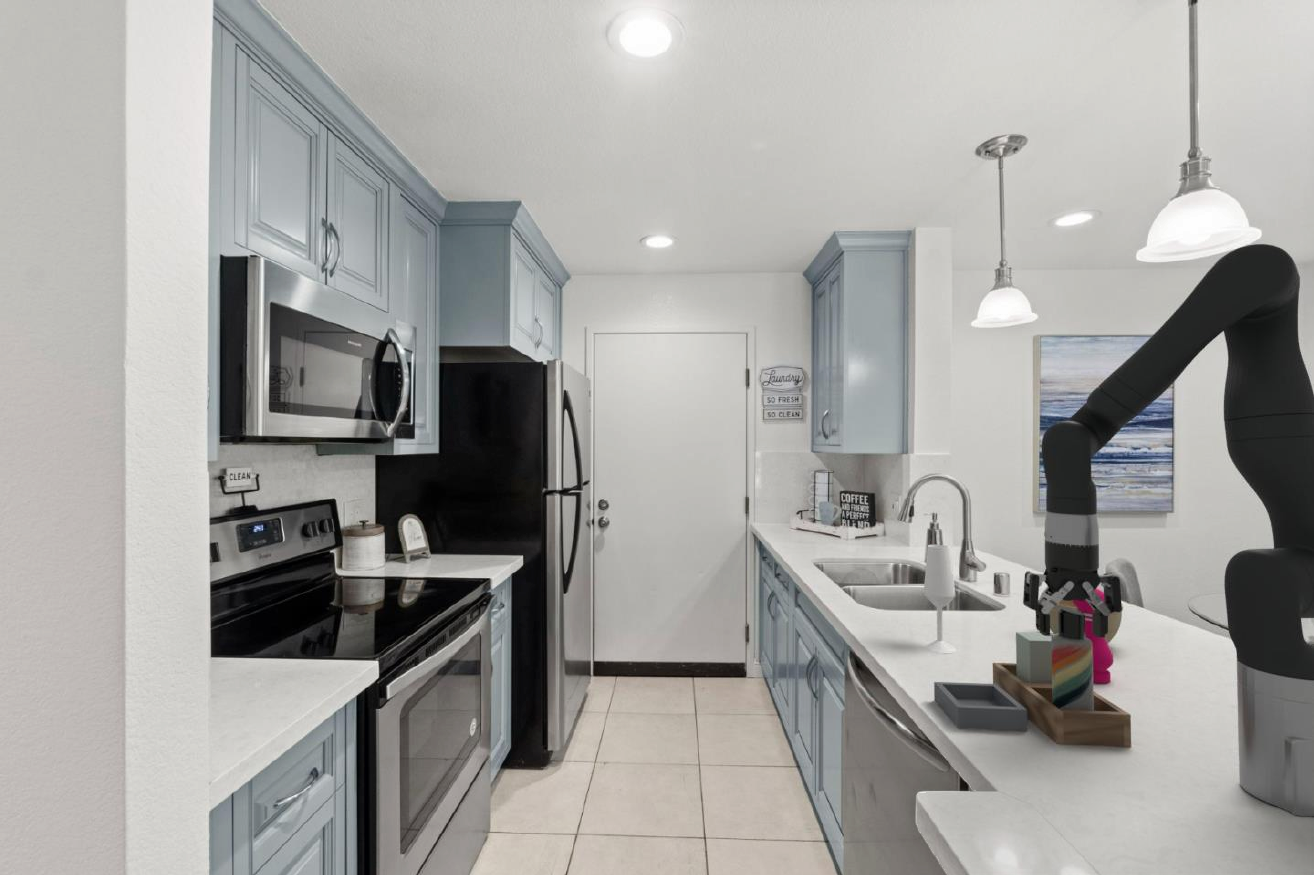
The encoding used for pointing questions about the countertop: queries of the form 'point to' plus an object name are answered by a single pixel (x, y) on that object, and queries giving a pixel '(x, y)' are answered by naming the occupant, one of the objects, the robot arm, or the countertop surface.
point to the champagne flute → (939, 589)
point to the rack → (1066, 713)
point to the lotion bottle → (1072, 663)
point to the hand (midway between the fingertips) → (1071, 635)
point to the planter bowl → (1113, 618)
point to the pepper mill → (1096, 644)
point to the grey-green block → (1033, 657)
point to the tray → (980, 706)
